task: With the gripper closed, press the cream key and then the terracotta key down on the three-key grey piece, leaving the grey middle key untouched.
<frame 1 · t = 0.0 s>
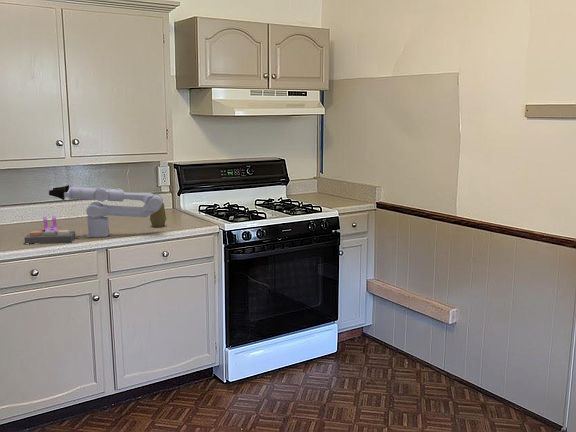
hand: (51, 191, 276), 22 cm above the counter, tool horizontal, fingers open, 7 cm apart
bracket: (51, 232, 291), on the counter
grey piece: (50, 240, 272), on the counter
grey key: (50, 234, 271), point 3 cm above the counter, slide at 0.0 cm
cream key: (64, 234, 272), point 3 cm above the counter, slide at 0.0 cm
squeeze bottle: (158, 226, 303), on the counter
terracotta key: (36, 234, 270), point 3 cm above the counter, slide at 0.0 cm
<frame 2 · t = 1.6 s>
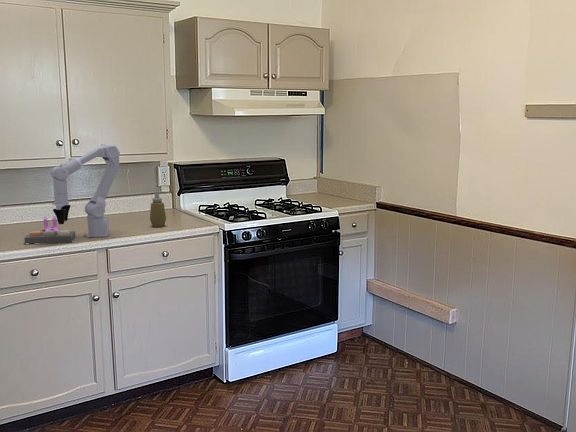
hand: (63, 222, 271), 8 cm above the counter, tool pointing down, fingers open, 7 cm apart
nothing on the counter moved.
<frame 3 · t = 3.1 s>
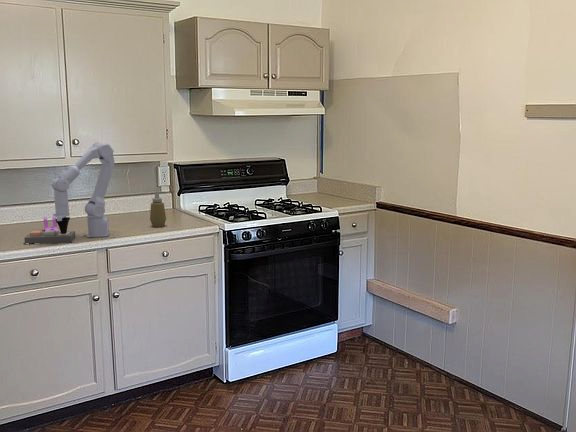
hand: (63, 233, 272), 3 cm above the counter, tool pointing down, fingers closed, pressing on cream key
cream key: (64, 236, 273), point 2 cm above the counter, slide at 1.2 cm, touching gripper
everything else where it was.
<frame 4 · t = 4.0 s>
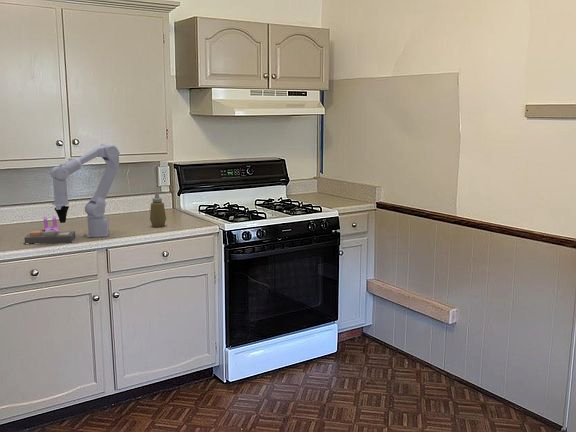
hand: (62, 222, 271), 8 cm above the counter, tool pointing down, fingers closed
cream key: (64, 236, 273), point 2 cm above the counter, slide at 1.3 cm
everything else where it was.
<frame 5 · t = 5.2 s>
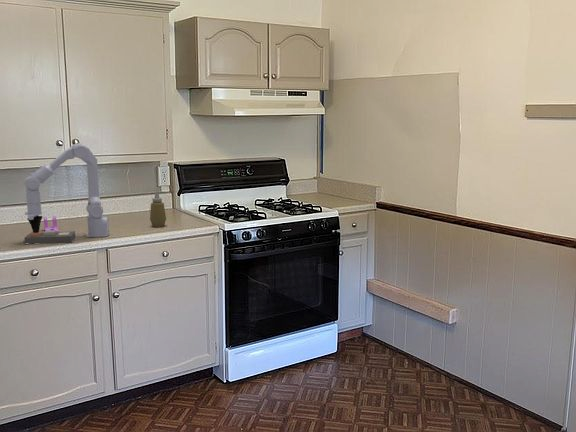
hand: (36, 232, 270), 4 cm above the counter, tool pointing down, fingers closed, pressing on terracotta key
terracotta key: (36, 235, 271), point 3 cm above the counter, slide at 0.3 cm, touching gripper
everything else where it was.
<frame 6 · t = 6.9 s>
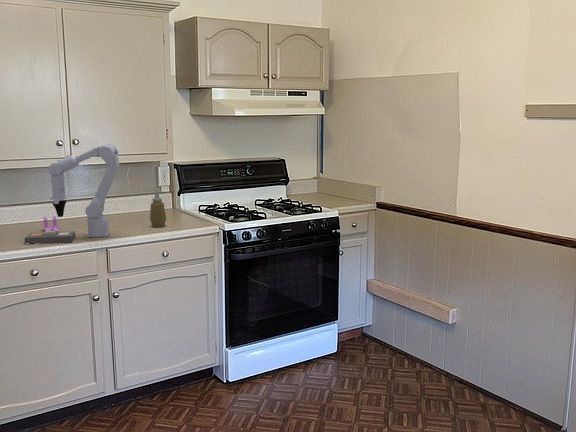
hand: (60, 216, 280), 9 cm above the counter, tool pointing down, fingers closed
terracotta key: (36, 237, 271), point 2 cm above the counter, slide at 1.3 cm
everything else where it was.
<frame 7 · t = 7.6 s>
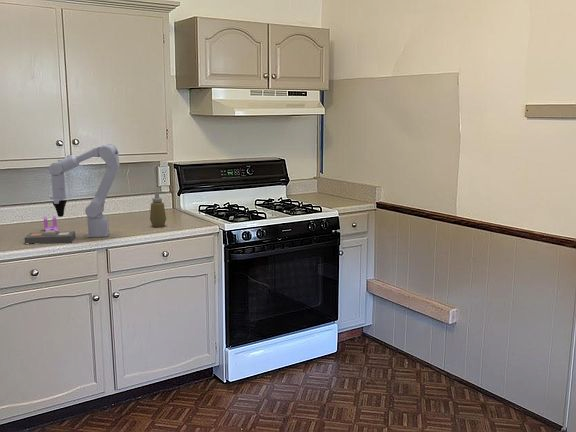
hand: (60, 216, 280), 9 cm above the counter, tool pointing down, fingers closed
nothing on the counter moved.
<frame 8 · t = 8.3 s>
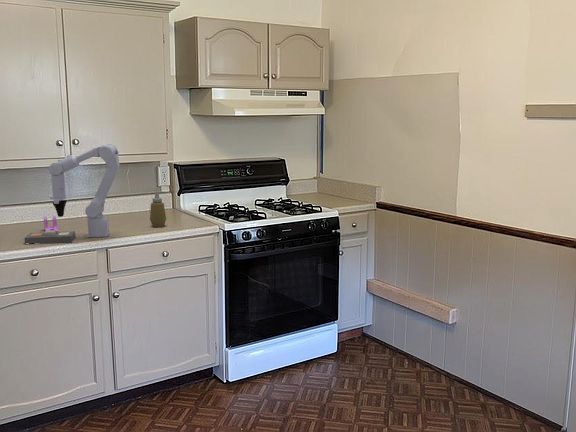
hand: (60, 216, 280), 9 cm above the counter, tool pointing down, fingers closed
nothing on the counter moved.
at the end: cream key slide at 1.3 cm; terracotta key slide at 1.3 cm; grey key slide at 0.0 cm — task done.
